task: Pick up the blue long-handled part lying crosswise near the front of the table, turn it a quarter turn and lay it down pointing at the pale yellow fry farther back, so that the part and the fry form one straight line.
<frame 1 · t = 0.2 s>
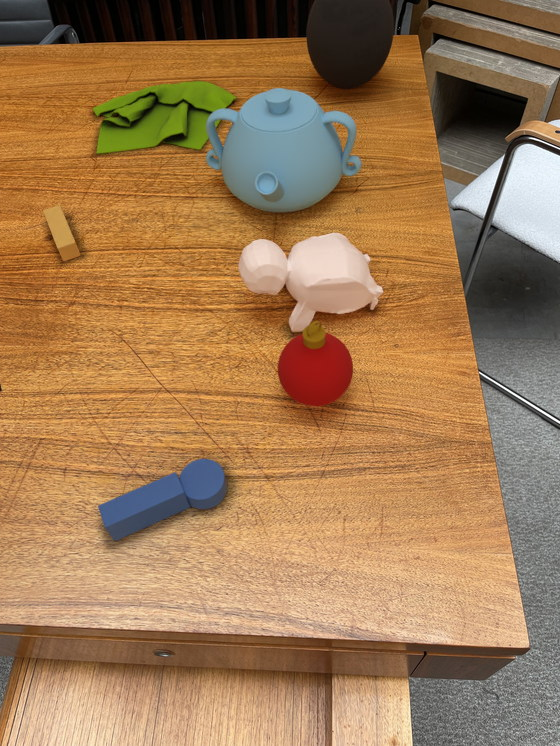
blue long-handled part: (149, 514, 56), on the table
christmas ornament: (315, 391, 63), on the table
fry: (64, 239, 79), on the table
white animal figurine: (310, 302, 70), on the table
teapot: (281, 198, 81), on the table
decorative egg: (348, 85, 97), on the table
cloth: (158, 119, 94), on the table
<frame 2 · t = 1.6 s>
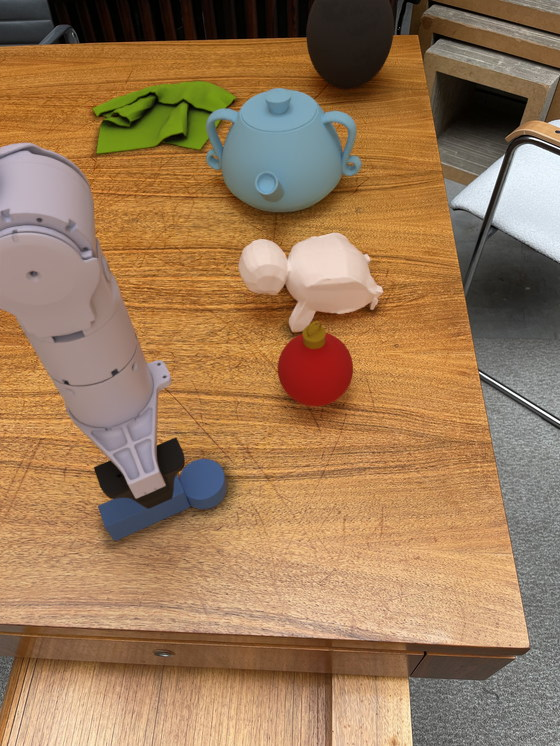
hand: (143, 459, 49), 8 cm above the table, tool pointing down, fingers open, 7 cm apart
nothing on the table moved.
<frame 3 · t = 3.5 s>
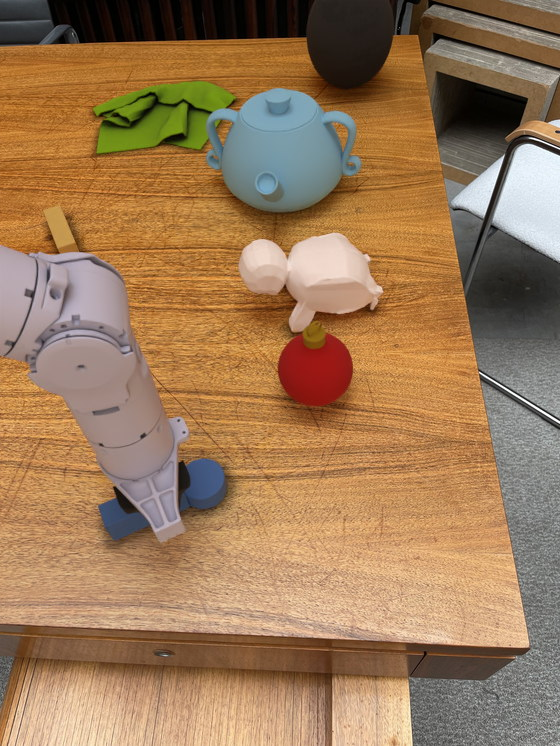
hand: (161, 499, 55), 1 cm above the table, tool pointing down, fingers closed on blue long-handled part, 2 cm apart
blue long-handled part: (149, 513, 56), on the table, touching gripper
everything else where it was.
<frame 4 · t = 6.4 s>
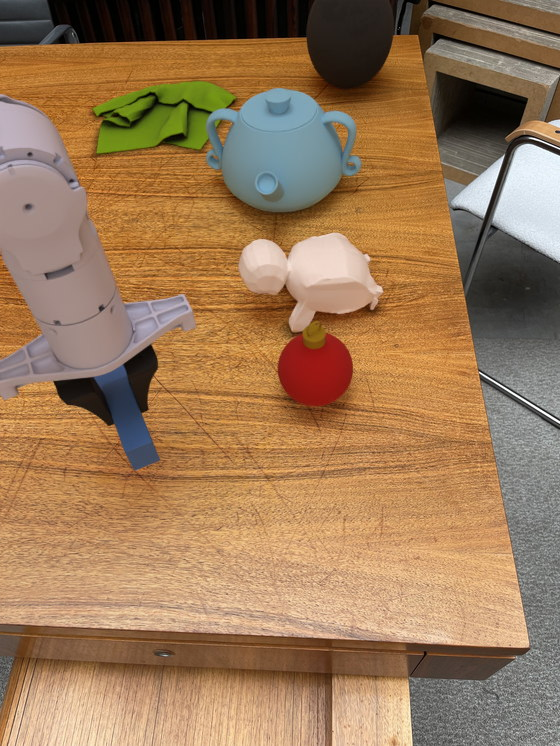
hand: (125, 409, 52), 8 cm above the table, tool pointing down, fingers closed on blue long-handled part, 2 cm apart
blue long-handled part: (134, 432, 53), point 7 cm above the table, touching gripper
everything else where it was.
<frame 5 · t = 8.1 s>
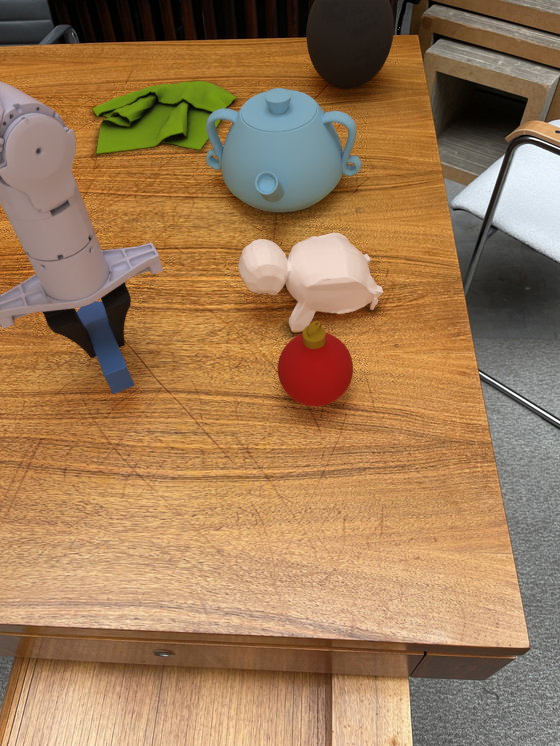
hand: (105, 344, 62), 5 cm above the table, tool pointing down, fingers closed on blue long-handled part, 2 cm apart
blue long-handled part: (113, 364, 62), point 3 cm above the table, touching gripper
everything else where it was.
when the fingers open (1 cm above the table, at t = 9.2 s): blue long-handled part stays where it is, on the table.
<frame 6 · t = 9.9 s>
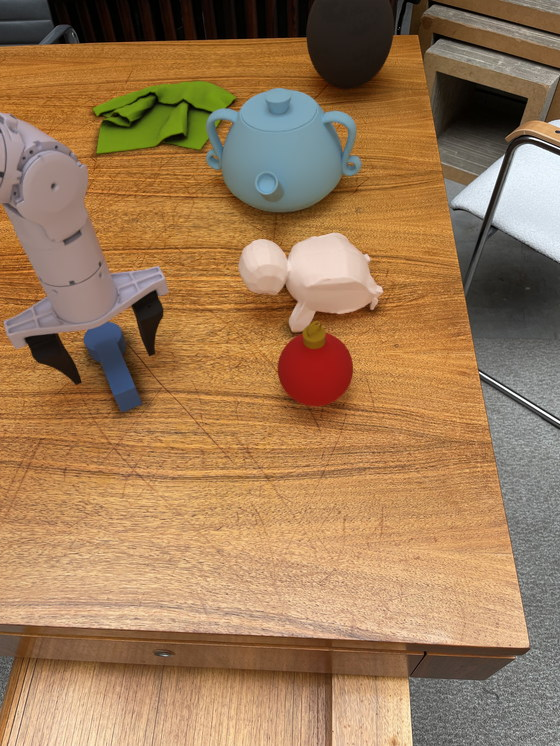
hand: (113, 362, 64), 2 cm above the table, tool pointing down, fingers open, 7 cm apart
blue long-handled part: (122, 383, 65), on the table
everything else where it was.
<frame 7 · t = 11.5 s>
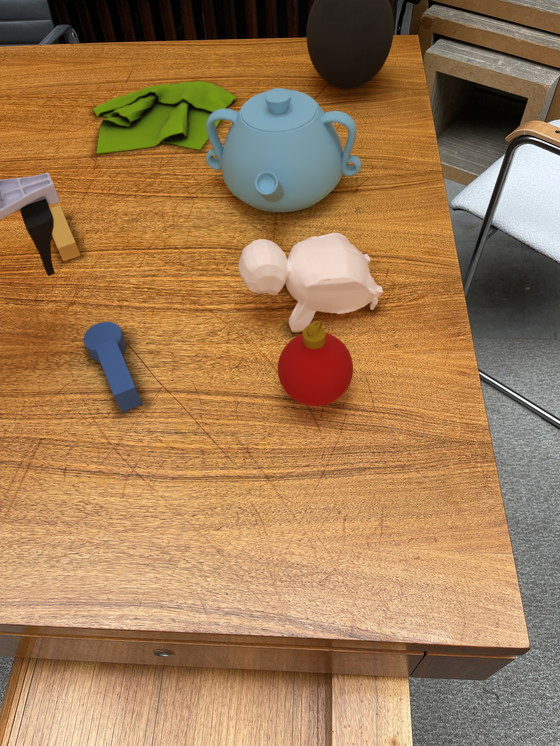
hand: (10, 282, 61), 9 cm above the table, tool pointing down, fingers open, 7 cm apart
nothing on the table moved.
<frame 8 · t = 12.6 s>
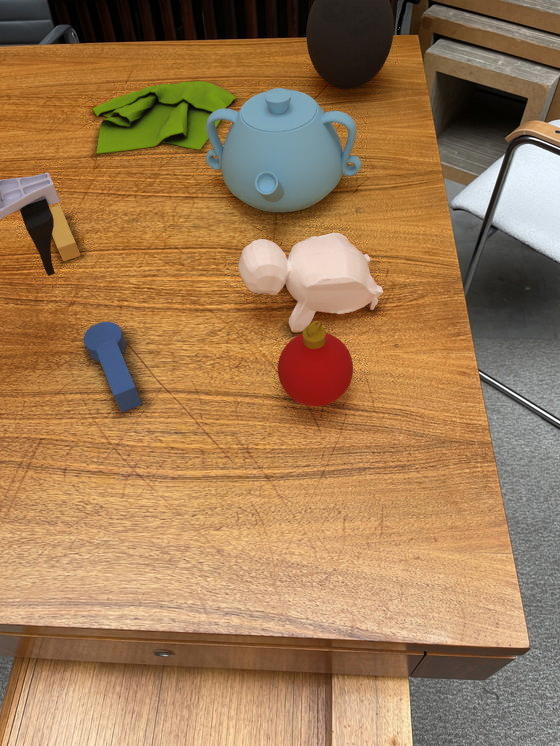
hand: (10, 282, 61), 9 cm above the table, tool pointing down, fingers open, 7 cm apart
nothing on the table moved.
at the end: blue long-handled part 0.0 cm from the target spot on the table beside the fry, on the table; blue long-handled part tilted 0°; the gripper is holding nothing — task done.
